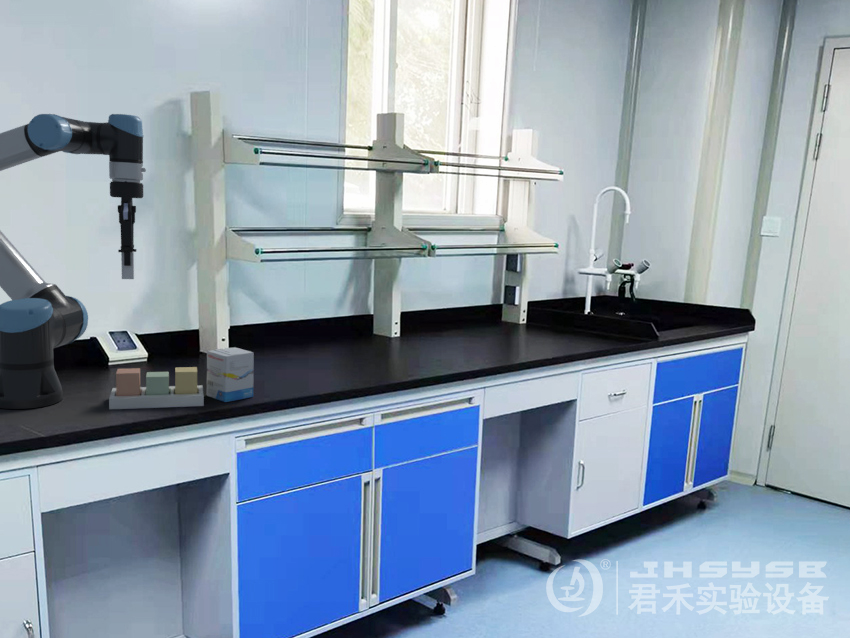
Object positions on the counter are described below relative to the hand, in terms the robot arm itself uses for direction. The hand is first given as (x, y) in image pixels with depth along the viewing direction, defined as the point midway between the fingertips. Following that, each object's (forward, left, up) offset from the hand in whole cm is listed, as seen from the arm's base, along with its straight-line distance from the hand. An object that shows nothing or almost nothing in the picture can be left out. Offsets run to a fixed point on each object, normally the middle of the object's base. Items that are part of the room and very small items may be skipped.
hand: (127, 278), depth 183 cm
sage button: (+7, -11, -28) cm, 31 cm away
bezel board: (+7, -11, -28) cm, 31 cm away
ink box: (+24, -8, -29) cm, 38 cm away
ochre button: (+13, -11, -27) cm, 32 cm away
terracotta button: (0, -11, -27) cm, 29 cm away
